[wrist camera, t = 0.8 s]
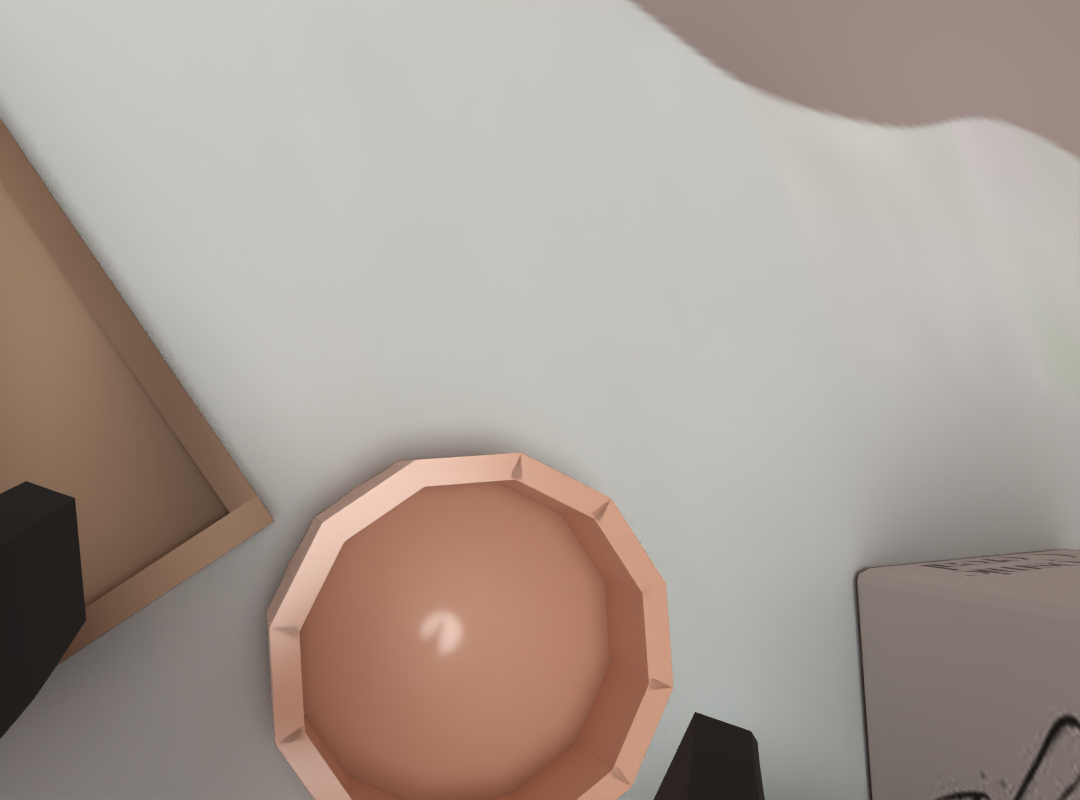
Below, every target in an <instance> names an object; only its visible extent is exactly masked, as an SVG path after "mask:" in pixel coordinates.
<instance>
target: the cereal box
mask: <svg viewBox="0 0 1080 800" xmlns="http://www.w3.org/2000/svg"><path fill="white" fill-rule="evenodd" d="M857 586H858V601H859V615H860V629H861V644H862V658H863V673H864V687H865V701H866V716H867V730H868V744H869V759H870V773H871V788H872V800H1080V551H1079V550H1069V549H1065V550H1054V551H1043V552H1033V553H1022V554H1012V555H1001V556H991V557H980V558H970V559H959V560H949V561H938V562H928V563H917V564H907V565H896V566H886V567H875V568H869V569H867V570H866V571H864V572H862V573H859V576H858V580H857Z"/></svg>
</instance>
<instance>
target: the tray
mask: <svg viewBox="0 0 1080 800" xmlns="http://www.w3.org/2000/svg"><path fill="white" fill-rule="evenodd" d="M25 481H27V482H30V483H33V484H36V485H39V486H42V487H45V488H48V489H51V490H54V491H56V492H59V493H62V494H65V495H68V496H71V497H74V498H75V502H76V513H77V524H78V535H79V546H80V557H81V568H82V579H83V590H84V601H85V612H86V621H85V623H84V624H83V626H82V627H81V629H80V630H79V632H78V633H77V635H76V637H75V638H74V640H73V641H72V643H71V644H70V646H69V647H68V649H67V651H66V652H65V654H64V655H63V657H62V658H61V660H60V661H59V663H58V664H60V663H61V662H63V661H64V660H66V659H67V658H69V657H70V656H72V655H73V654H75V653H76V652H78V651H79V650H81V649H82V648H84V647H85V646H87V645H88V644H90V643H91V642H93V641H94V640H96V639H97V638H99V637H100V636H102V635H103V634H105V633H106V632H108V631H109V630H111V629H112V628H114V627H115V626H117V625H118V624H120V623H121V622H123V621H124V620H126V619H127V618H129V617H130V616H132V615H133V614H135V613H136V612H138V611H139V610H141V609H142V608H144V607H145V606H147V605H148V604H150V603H151V602H153V601H154V600H156V599H157V598H159V597H160V596H162V595H163V594H165V593H167V592H168V591H170V590H171V589H173V588H174V587H176V586H177V585H179V584H180V583H182V582H183V581H185V580H186V579H188V578H189V577H191V576H192V575H194V574H195V573H197V572H198V571H200V570H201V569H203V568H204V567H206V566H207V565H209V564H210V563H212V562H213V561H215V560H216V559H218V558H219V557H221V556H222V555H224V554H225V553H227V552H228V551H230V550H231V549H233V548H234V547H236V546H237V545H239V544H240V543H242V542H243V541H245V540H246V539H248V538H249V537H251V536H252V535H254V534H255V533H257V532H258V531H260V530H261V529H263V528H264V527H266V526H267V525H269V524H270V523H272V522H273V521H274V519H273V518H272V516H271V515H270V514H269V512H268V511H267V509H266V508H265V506H264V505H263V503H262V502H261V500H260V499H259V497H258V496H257V494H256V493H255V492H254V490H253V489H252V487H251V486H250V484H249V483H248V481H247V480H246V478H245V477H244V475H243V474H242V473H241V471H240V470H239V468H238V467H237V465H236V464H235V462H234V461H233V459H232V458H231V456H230V455H229V453H228V452H227V451H226V449H225V448H224V446H223V445H222V443H221V442H220V440H219V439H218V437H217V436H216V434H215V433H214V431H213V430H212V429H211V427H210V426H209V424H208V423H207V421H206V420H205V418H204V417H203V415H202V414H201V412H200V411H199V410H198V408H197V407H196V405H195V404H194V402H193V401H192V399H191V398H190V396H189V395H188V393H187V392H186V390H185V389H184V388H183V386H182V385H181V383H180V382H179V380H178V379H177V377H176V376H175V374H174V373H173V371H172V370H171V368H170V367H169V366H168V364H167V363H166V361H165V360H164V358H163V357H162V355H161V354H160V352H159V351H158V349H157V348H156V347H155V345H154V344H153V342H152V341H151V339H150V338H149V336H148V335H147V333H146V332H145V330H144V329H143V327H142V326H141V325H140V323H139V322H138V320H137V319H136V317H135V316H134V314H133V313H132V311H131V310H130V308H129V307H128V305H127V304H126V303H125V301H124V300H123V298H122V297H121V295H120V294H119V292H118V291H117V289H116V288H115V286H114V285H113V283H112V282H111V281H110V279H109V278H108V276H107V275H106V273H105V272H104V270H103V269H102V267H101V266H100V264H99V263H98V262H97V260H96V259H95V257H94V256H93V254H92V253H91V251H90V250H89V248H88V247H87V245H86V244H85V242H84V241H83V240H82V238H81V237H80V235H79V234H78V232H77V231H76V229H75V228H74V226H73V225H72V223H71V222H70V220H69V219H68V218H67V216H66V215H65V213H64V212H63V210H62V209H61V207H60V206H59V204H58V203H57V201H56V200H55V199H54V197H53V196H52V194H51V193H50V191H49V190H48V188H47V187H46V185H45V184H44V182H43V181H42V179H41V178H40V177H39V175H38V174H37V172H36V171H35V169H34V168H33V166H32V165H31V163H30V162H29V160H28V159H27V157H26V156H25V155H24V153H23V152H22V150H21V149H20V147H19V146H18V144H17V143H16V141H15V140H14V138H13V137H12V136H11V134H10V133H9V131H8V130H7V128H6V127H5V125H4V124H3V122H2V121H1V119H0V494H1V493H3V492H5V491H7V490H9V489H11V488H13V487H15V486H17V485H19V484H21V483H23V482H25ZM58 664H57V665H58Z"/></svg>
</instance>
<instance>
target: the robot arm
mask: <svg viewBox="0 0 1080 800" xmlns="http://www.w3.org/2000/svg"><path fill="white" fill-rule="evenodd" d="M85 621H86V612H85V601H84V590H83V579H82V568H81V557H80V546H79V535H78V524H77V513H76V502H75V498H74V497H71V496H68V495H65V494H62V493H59V492H56V491H54V490H51V489H48V488H45V487H42V486H39V485H36V484H33V483H30V482H27V481H25V482H23V483H21V484H19V485H17V486H15V487H13V488H11V489H9V490H7V491H5V492H3V493H1V494H0V738H1V737H2V736H3V735H4V734H5V732H6V731H7V730H8V729H9V728H10V727H11V725H12V724H13V723H14V722H15V721H16V720H17V718H18V717H19V716H20V715H21V714H22V712H23V711H24V710H25V709H26V708H27V706H28V705H29V704H30V703H31V701H32V700H33V699H34V698H35V696H36V695H37V693H38V692H39V691H40V689H41V688H42V686H43V685H44V683H45V682H46V680H47V679H48V677H49V676H50V675H51V673H52V672H53V670H54V669H55V667H56V666H57V664H58V663H59V661H60V660H61V658H62V657H63V655H64V654H65V652H66V651H67V649H68V647H69V646H70V644H71V643H72V641H73V640H74V638H75V637H76V635H77V633H78V632H79V630H80V629H81V627H82V626H83V624H84V623H85ZM654 800H765V799H764V793H763V786H762V778H761V770H760V762H759V753H758V743H757V740H756V739H755V737H754V735H753V734H752V732H751V731H749V730H746V729H743V728H740V727H737V726H734V725H731V724H728V723H725V722H722V721H720V720H717V719H714V718H711V717H708V716H705V715H702V714H699V713H696V712H695V713H694V716H693V718H692V720H691V722H690V724H689V726H688V728H687V730H686V732H685V735H684V737H683V739H682V741H681V743H680V745H679V747H678V749H677V752H676V754H675V756H674V758H673V760H672V762H671V764H670V766H669V768H668V771H667V773H666V775H665V777H664V779H663V781H662V783H661V785H660V788H659V790H658V792H657V794H656V796H655V798H654Z"/></svg>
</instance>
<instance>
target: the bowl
mask: <svg viewBox="0 0 1080 800" xmlns="http://www.w3.org/2000/svg"><path fill="white" fill-rule="evenodd" d="M267 628H268V647H269V665H270V683H271V702H272V717H273V726H274V734H275V742H276V745H277V747H278V748H279V750H280V751H281V752H282V754H283V755H284V757H285V758H286V760H287V761H288V762H289V764H290V765H291V767H292V768H293V770H294V771H295V772H296V774H297V775H298V777H299V778H300V780H301V781H302V782H303V784H304V785H305V787H306V788H307V790H308V791H309V792H310V794H311V795H312V797H313V798H314V800H616V799H618V798H619V797H620V796H621V795H622V794H624V793H625V792H626V791H627V790H628V789H629V788H631V786H632V785H633V782H634V780H635V778H636V775H637V773H638V771H639V768H640V766H641V763H642V761H643V759H644V756H645V754H646V752H647V749H648V747H649V744H650V742H651V740H652V737H653V735H654V733H655V730H656V728H657V725H658V723H659V721H660V718H661V716H662V714H663V711H664V709H665V706H666V704H667V702H668V699H669V697H670V694H671V692H672V690H673V675H672V661H671V648H670V634H669V621H668V607H667V594H666V583H665V582H664V580H663V579H662V577H661V575H660V574H659V572H658V571H657V569H656V568H655V566H654V564H653V563H652V561H651V560H650V558H649V557H648V555H647V554H646V552H645V550H644V549H643V547H642V546H641V544H640V543H639V541H638V540H637V538H636V536H635V535H634V533H633V532H632V530H631V529H630V527H629V525H628V524H627V522H626V521H625V519H624V518H623V516H622V515H621V513H620V511H619V510H618V508H617V507H616V505H615V504H614V502H613V501H612V499H611V498H609V497H607V496H605V495H603V494H601V493H599V492H597V491H595V490H594V489H592V488H590V487H588V486H586V485H584V484H582V483H580V482H578V481H576V480H574V479H572V478H570V477H568V476H566V475H564V474H562V473H560V472H558V471H556V470H554V469H552V468H550V467H548V466H546V465H544V464H543V463H541V462H539V461H537V460H535V459H533V458H531V457H529V456H527V455H525V454H523V453H507V454H492V455H478V456H463V457H448V458H434V459H419V460H404V461H397V462H396V463H394V464H393V465H392V466H390V467H389V468H387V469H386V470H384V471H383V472H381V473H380V474H378V475H377V476H375V477H373V478H371V479H369V480H368V481H366V482H364V483H363V484H361V485H359V486H357V487H356V488H354V489H353V490H351V491H350V492H349V493H348V494H346V495H345V496H344V497H342V498H341V499H340V500H338V501H337V502H336V503H335V504H333V505H332V506H330V507H329V508H327V509H326V510H324V511H323V512H321V513H320V514H318V515H317V516H315V517H314V519H313V521H312V523H311V525H310V527H309V528H308V530H307V532H306V534H305V536H304V538H303V540H302V541H301V543H300V545H299V546H298V548H297V550H296V551H295V553H294V555H293V557H292V558H291V560H290V562H289V564H288V566H287V569H286V571H285V573H284V576H283V578H282V580H281V583H280V585H279V588H278V590H277V592H276V594H275V596H274V598H273V600H272V602H271V604H270V605H269V607H268V609H267Z"/></svg>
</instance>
